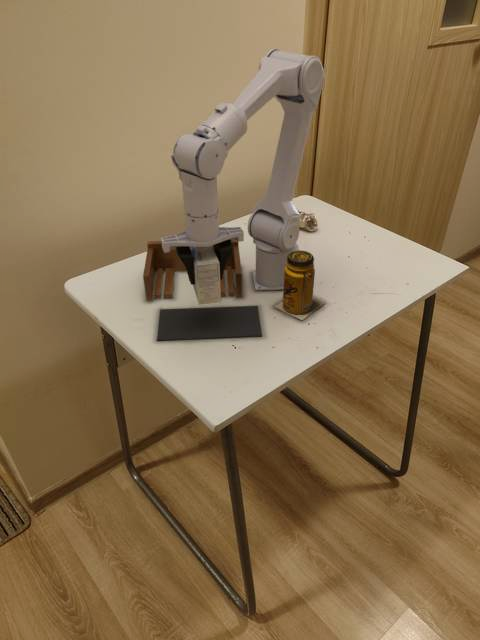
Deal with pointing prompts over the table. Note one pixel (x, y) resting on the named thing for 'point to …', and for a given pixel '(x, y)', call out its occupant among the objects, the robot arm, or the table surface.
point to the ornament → (308, 221)
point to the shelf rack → (172, 263)
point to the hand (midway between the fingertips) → (205, 279)
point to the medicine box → (206, 275)
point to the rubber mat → (209, 323)
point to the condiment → (299, 286)
